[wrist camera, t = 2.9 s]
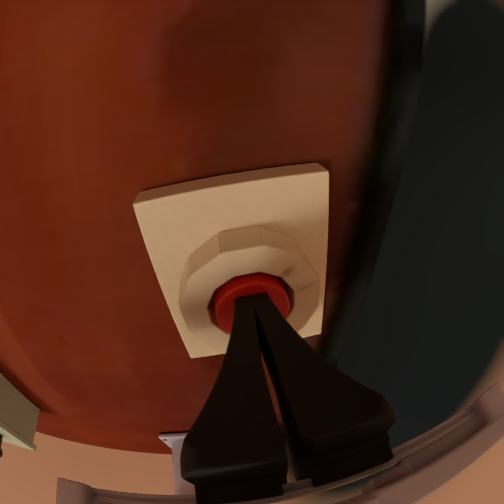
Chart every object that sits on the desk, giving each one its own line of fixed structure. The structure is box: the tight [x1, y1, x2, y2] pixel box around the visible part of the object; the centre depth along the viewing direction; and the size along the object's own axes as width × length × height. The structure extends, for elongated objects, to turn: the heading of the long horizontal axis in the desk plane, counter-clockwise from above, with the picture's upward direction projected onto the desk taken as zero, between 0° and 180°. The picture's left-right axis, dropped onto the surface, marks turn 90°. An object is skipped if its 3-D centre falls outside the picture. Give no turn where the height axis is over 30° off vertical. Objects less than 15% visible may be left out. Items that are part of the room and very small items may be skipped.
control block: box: [133, 163, 329, 358], centre depth 13 cm, size 10×8×3 cm
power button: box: [213, 272, 290, 333], centre depth 13 cm, size 3×3×2 cm
